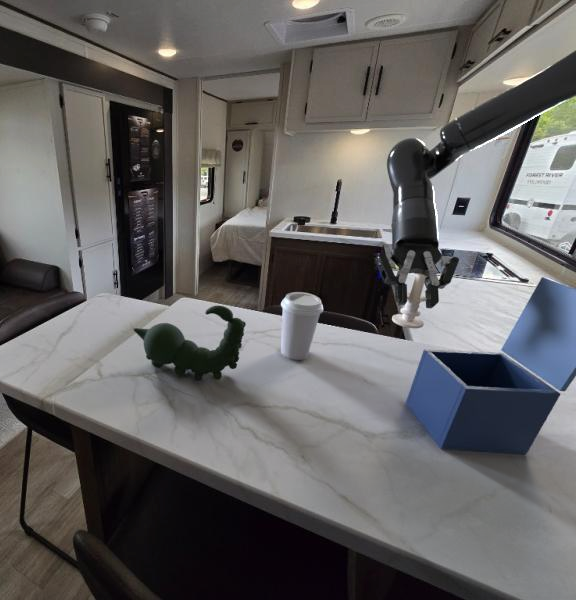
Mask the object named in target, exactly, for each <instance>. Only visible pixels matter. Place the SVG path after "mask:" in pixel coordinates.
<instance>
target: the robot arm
mask: <svg viewBox="0 0 576 600" xmlns="http://www.w3.org/2000/svg"><path fill="white" fill-rule="evenodd" d="M575 97H576V49H575V50H574V51H572V52H571V53H569V54H568V55H566V56H565V57H562V58H561V59H560V60H558V61H556V62H555V63H553V64H551V65H550V66H548V67H546V68H545V69H543V70H542V71H540V72H538V73H536V74H535V75H532V76H531V77H529V78H527V79H525V80H523V81H522V82H520V83H518V84H516V85H514V86H512V87H511V88H509V89H507V90H505V91H503V92H501V93H500V94H497V95H495V96H494V97H492V98H489V99H488V100H487V101H484V102H483V103H481V104H479V105H478V106H475V107H474V108H472V109H471V110H468V111H466V112H464V113H463V114H461V115H460V116H458V117H456V118H455V119H454V118H453V120H451V121H449V122H447V123H446V124H444V125H443V126H442V128H440V131H439V139H440V142H438V143H437V144H436V145H435V146H434V147H433V148H432V149H429V147H427V145H426V144H425V143H424V142H423V141H422V140H421V139H419V138H415V137H410V138H409V137H408V138H404V139H402V140H400V141H399V142H397V143H396V144H394V145H393V147H392V148H391V149H390V151H389V152H388V155H387V159H386V169H387V175H388V179H389V183H390V187H391V189H392V217H391V223H390V224H391V225H390V227H391V251H390V252H387V253H385V252H384V251H380V252H379V253H378V254H377V256H376V257H375V259H374V261H375V264H376V266H377V267H376V268H377V269H378V272H379V275H380V276H381V279H382V281H383V283H384V284H385V285H392V286H393V287H394V300H395V302H396V303H398V306H401V307H405V304H406V303H407V293H408V284H407V283H406V282H407V278H408V276H409V274H416V275H417V274H421V273H422V275H424V276H426V277H425V282H424V286H425V291H424V297H426V298H427V300H426V301H425V308H426V309H429V310H430V309H433V308H434V307H435V306H436V305H438V304H439V302H440V298H439V297H440V295H439V289H440V290H443V289H445V288H446V287H447V286H448V285H449V284H451V282H452V281H453V277H454V274H455V272H456V269H457V267H458V264H459V262H460V258H459V257H457V256H453V257H447V256H444V255H443V253H442V252H441V250H440V249H439V245H440V244H439V243H440V241H439V239H440V238H439V225H438V224H439V223H438V214H437V213H438V212H437V209H436V203H435V190H434V189H435V188H434V185H433V183H432V179H433V178H434V177H436V176H437V175H438V174H440V173H442V171H444V170H445V169H446V168H448V167H450V166H451V165H452V164H453V163H455V161H457V160H458V159H459V158H461V157H462V156H463V155H465V154H467V153H470V152H471V151H472V150H473V151H474V150H475V149H477V148H480V147H482V146H483V145H486V144H487V143H489V142H492V141H493V140H496V139H498V138H499V137H501V136H504V135H505V134H507V133H509V132H511V131H513V130H514V129H516V128H518V127H520V126H521V125H523V124H525V123H527V122H528V121H530V120H532V119H534V118H535V117H537V116H539V115H541V114H543V113H545V112H547V111H548V110H550V109H552V108H554V107H557V106H558V105H561V104H562V103H564V102H566V101H568V100H570V99H572V98H575ZM391 261H392V263H393V264H394V265H396V267H398V269H397V272H396V275H395V273H394V270H393V268H392V266H391ZM438 263H440V269H441V270H442V271H441V274H440V277H439V278H438V275H437V274H438V271H437V268H436V265H437V264H438Z"/></svg>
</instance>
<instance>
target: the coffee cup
mask: <svg viewBox="0 0 576 600" xmlns="http://www.w3.org/2000/svg"><path fill="white" fill-rule="evenodd" d="M280 307H281V308H282V316H281V317H282V318H281V339H280V341H281V342H280V352H281V354H282V355H283V356H284V357H285V358H288V359H290V360H295V361H301V360H305V359H307V358H308V356H309V352H310V350H311V345H312V342H313V339H314V336H315V332H316V329H317V326H318V323H319V318H320V315H321V314H322V313H323V312H324V305H323V303H322V300H321V298H320V297H318V296H317V295H315V294H312V293H309V292H302V291H295V292H289V293H287V294H286V295H285V297H284V298H282V300H281V302H280Z"/></svg>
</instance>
